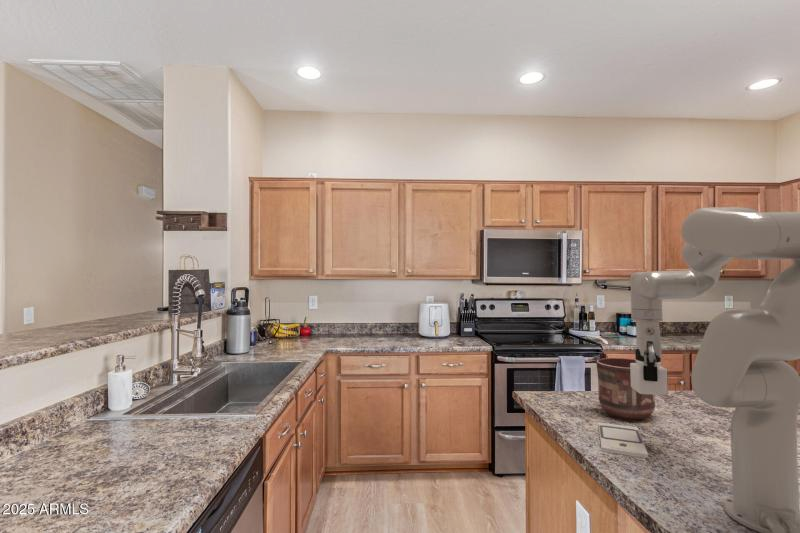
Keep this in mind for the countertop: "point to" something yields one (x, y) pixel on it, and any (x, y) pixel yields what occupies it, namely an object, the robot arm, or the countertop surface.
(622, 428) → the board
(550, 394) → the countertop surface
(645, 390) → the medicine bottle
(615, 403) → the pottery
